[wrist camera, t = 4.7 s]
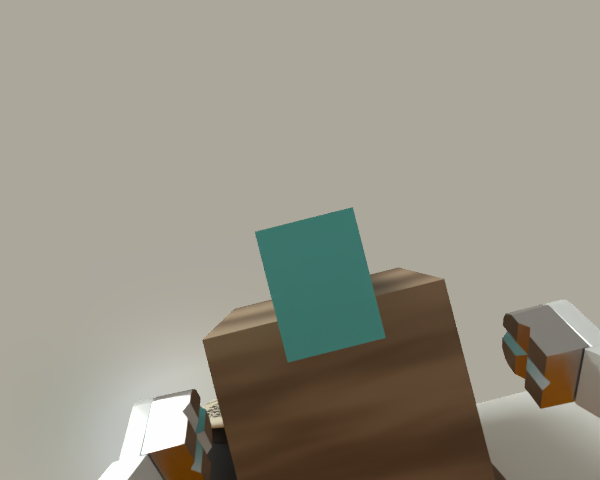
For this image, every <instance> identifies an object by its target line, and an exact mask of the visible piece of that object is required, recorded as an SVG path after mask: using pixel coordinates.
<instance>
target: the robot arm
mask: <svg viewBox="0 0 600 480" xmlns="http://www.w3.org/2000/svg"><path fill="white" fill-rule="evenodd" d="M503 320H504V321H503V326H504V327H505V328H506V330H507V331H508V332H507V333H506V334H505V335H504V337H503V338H502V339H503V340H502V348H503V352H504V355H505V359H506V361H507V363H508V364H509V366H510V368H511V369H512V370H513V372H514V373H515V374H516V375H518V376H521V377H522V378H524V379H525V389H526V390H527V391H528V393H529V394H530V395H531V397H532V398H533V399H534V401H535V402H536V404H537V405H538V406H539V408H540V409H543V408H547V407H552V406H557V405H562V404H566V403H571V402H575V404H577V405H578V406H580V407H582V408H583V409H585V410H587V411H588V412H590V413H592V414H593V415H595V416H597V417H598V418H600V329H598V328H597V327H596V326H595V325H594V324H593V323H592V322H591V321H589V319H588V318H586V317H585V316H584V315H583V314H582V313H581V312H580V311H579V310H578V309H577V308H575V307H574V306H573V305H572V304H571V303H570V302H569V301H567V300H564V299H562V300H558V301H554V302H550V303H546V304H544V305H538V306H534V307H530V308H526V309H523V310H518V311H514V312H511V313H507V314H505V316H504V319H503ZM211 447H212V427H211V422H210V418H209V415H208V413H207V411H206V409H204V408H202V407H200V396H199V394H198V393H197V391H196V390H195V389H192V390H187V391H182V392H178V393H173V394H168V395H164V396H159V397H156V398H152V399H147V400H142V401H137V402H136V403H135V405H134V406H133V408H132V412H131V416H130V419H129V424H128V427H127V431H126V435H125V439H124V442H123V446H122V450H121V454H120V458H119V461H116V462H113V463H112V464H111V465H110V467H109V468H108V469H107V470H106V471H105V472H104V474H103V475H102V476H101V477H100V478H99V480H210V472H211V462H210V460H209V458H208V456H207V453H208V452H209V450H210V449H211Z"/></svg>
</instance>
